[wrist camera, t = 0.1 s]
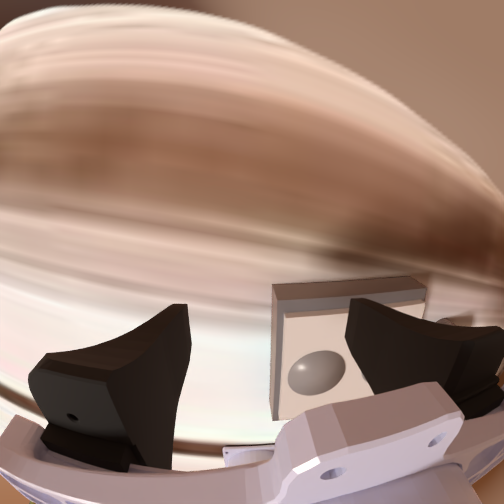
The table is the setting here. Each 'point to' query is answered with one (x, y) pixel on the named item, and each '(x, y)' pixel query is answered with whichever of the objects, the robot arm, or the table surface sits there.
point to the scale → (325, 340)
